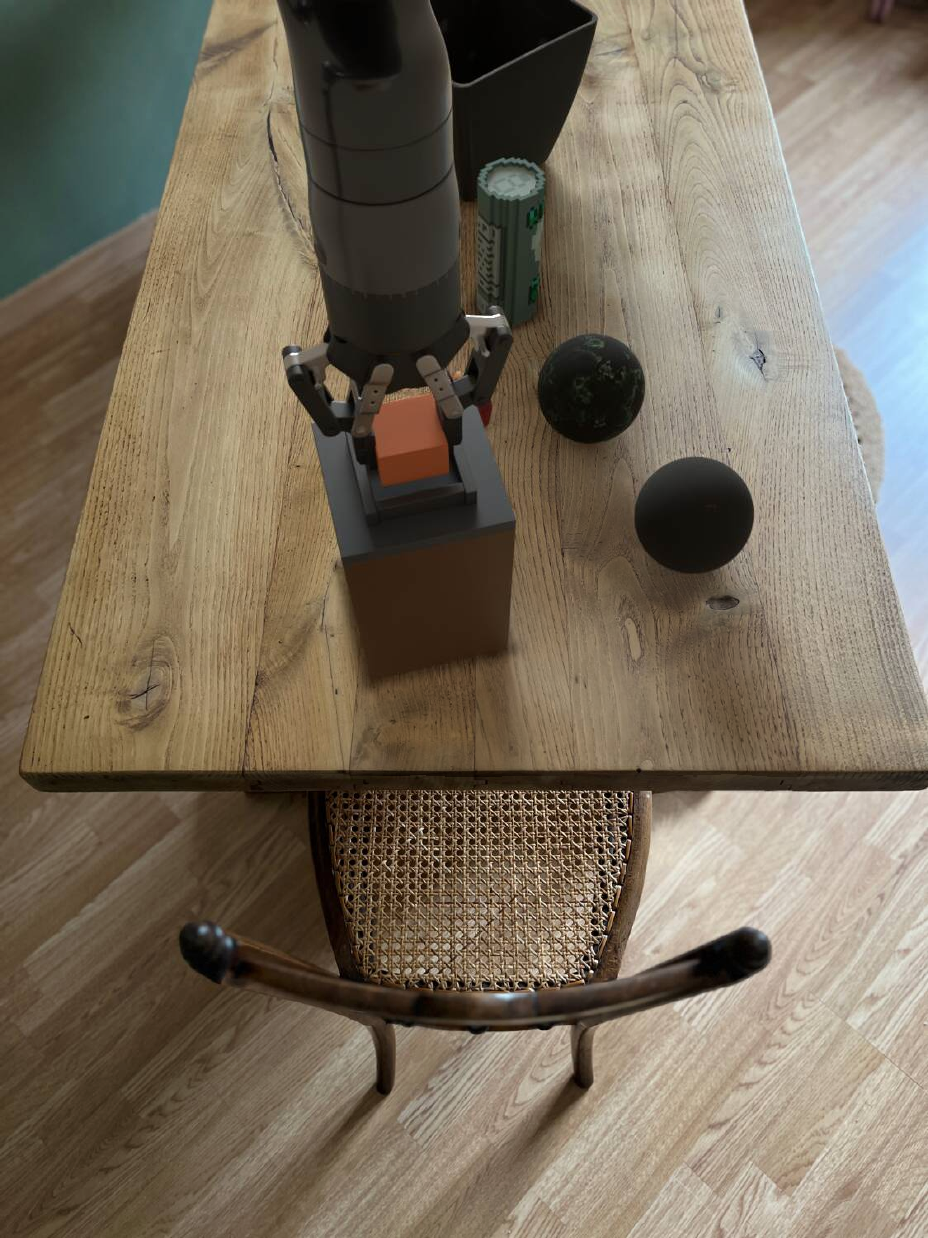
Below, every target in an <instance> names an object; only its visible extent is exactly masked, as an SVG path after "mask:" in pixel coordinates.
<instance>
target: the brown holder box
mask: <svg viewBox="0 0 928 1238" xmlns="http://www.w3.org/2000/svg"><path fill="white" fill-rule="evenodd" d="M434 401H435V398H434ZM310 426H311V431H312V435H313V439H314V444H315V449H316V454H317V458H318V462H319V466H320V471H321V474H322V479H323V484H324V488H325V493H326V498H327V501H328V507H329V511H330V515H331V520H332V524H333V528H334V533H335V537H336V542H337V547H338V552H339V556H340V559H341V564H342V569H343V572H344V577H345V581H346V585H347V590H348V593H349V598H350V602H351V607H352V611H353V615H354V621H355V624H356V627H357V632H358V637H359V642H360V645H361V648H362V653H363V658H364V662H365V666H366V671H367V674H368V680H369V681H370V682H373V681H376V680H381V679H387V678H389V677H395V676H399V675H402V674H408V673H412V672H415V671H416V672H417V671H420V670H424V669H430V668H433V667H437V666H443V665H446V664H451V663H454V662H460V661H463V660H469V659H472V658H476V657H480V656H484V655H489V654H493V653H494V654H495V653H498V652H502V651H507V650H508V649H509V634H510V622H511V620H510V619H511V605H512V591H513V577H514V575H513V574H514V561H515V547H516V546H515V545H516V534H517V533H516V530H517V518H516V516H515V512H514V509H513V506H512V503H511V501H510V498H509V495H508V492H507V489H506V486H505V483H504V481H503V478H502V474H501V471H500V469H499V466H498V462H497V459H496V457H495V453H494V451H493V448H492V445H491V442H490V440H489V437H488V434H487V431H486V428H484V425H483V422H482V419H481V416H480V413H479V410H478V407H476V406H474V404H473V405H471V406H469V407H467V408H466V409H465V410H464V413H463V415H462V434H463V439H462V441H461V443H460V445H456V446H454V453H453V454H448V455H449V473H448V474H444V475H439V476H434V477H430V478H425V479H420V480H415V481H410V482H406V483H401V484H396V485H391V486H387V487H383V486H382V483H381V480H380V476H379V472H378V469H376V470H371V471H369V468H368V464H364V465H360V464H359V463H358V462H357V460H356V456H355V452H354V448H353V443H352V437H351V434H350V433H348V432H343V431H341V432H340V434H338V435H337V436H334V437H326V436H324V435H323V434H322V432H321V431H320V429H319V428H318V426H317V425H316V423H315V422H314V421H313V422H311V423H310Z"/></svg>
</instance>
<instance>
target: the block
mask: <svg viewBox="0 0 928 1238" xmlns="http://www.w3.org/2000/svg"><path fill="white" fill-rule="evenodd" d="M372 426H373V430H374V434H375V440H376V445H375V451H376V457H377V464H378V472H379V476H380V480H381V483H382V486H383V487H387V486H391V485H396V484H401V483H406V482H410V481H415V480H420V479H425V478H430V477H434V476H439V475H444V474H448V473H449V455H448V443H447V440H446V436H445V433H444V432H443V429H442V426H441V423H440V420H439V417H438V413H437V410H436V407H435V401H434V398H433V395H432V393H425V394H421V395H416V396H412V397H406V398H402V399H397V400H391V401H387V402H382V406H381V409H380V412H379V414H378V415H375V417H374V421H373V424H372Z"/></svg>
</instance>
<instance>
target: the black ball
mask: <svg viewBox="0 0 928 1238" xmlns="http://www.w3.org/2000/svg"><path fill="white" fill-rule="evenodd" d="M752 496H753V495H752V494H751V491H750V489H749V487H748V485H747V484H746V482H745V481H744V479H743V478H742V476H741V475H739V473H738V472H736V470H734V469H733V468H732V467H730V466H729V465H728V464H726V463H724V462H722V461H719V460H717V459H713V458H711V457H705V456H687V457H681V458H677V459H674V460H671V461H669V462H668V463H665V464H664V465H662V466H660V467H659V468H658V469H657V470H655V471H654V472H653V473H652V474H651V475H650V476H649V477H648V478H647V480H646V481H645V482H644V483H643V485H642V487H641V489H640V490H639V492H638V494H637V496H636V497H637V498H636V500H635V504H634V510H633V523H634V529H635V533H636V536H637V539H638V541H639V543H640V546H641V547H642V548H643V550H644V552H645V553H646V554H647V555H648V556H649V557H650V558H651V559H652V560H653V561H654V562H655V563H657V564H658V565H660V566H661V567H663V568H665V569H668V570H669V571H672V572H676V573H678V574H679V573H680V574H685V575H700V574H706V573H710V572H714V571H716V570H718V569H720V568H722V567H724V566H726V565H727V564H729V563H730V562H731V561H733V560H734V559H735V558H736V557H737V556H738V555H739V554H740V553H741V552H742V550H743V549H744V548H745V546H746V544H747V542H748V541H749V539H750V536H751V534H752V531H753V528H754V522H755V506H754V500H753V497H752Z"/></svg>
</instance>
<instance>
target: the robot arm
mask: <svg viewBox="0 0 928 1238" xmlns="http://www.w3.org/2000/svg"><path fill="white" fill-rule="evenodd" d="M276 3H277V7H278V11H279V15H280V17H281V21H282V24H283V25H282V26H283V28H284V32H285V38H286V43H287V44H286V45H287V50H288V55H289V59H290V60H289V61H290V67H291V76H292V87H293V97H294V102H295V103H294V104H295V110H296V111H295V112H296V116H297V123H298V128H299V132H300V133H299V134H300V139H301V145H302V151H303V156H304V162H305V169H306V177H307V179H306V180H307V181H306V182H307V209H308V216H309V221H310V226H311V232H312V238H313V249H314V253H315V255H316V260H317V266H318V271H319V278H320V282H321V288H322V293H323V299H324V305H325V311H326V316H327V321H328V322H327V326H326V329H325V331H324V334H323V337H322V342H320V343H318V344H315V345H313V346H311V347H307V348H306V349H302V347H301V346H300V345H298V344H293V343H292V344H291V343H290V344H288V345H285V346H284V347H283V348H282V350H281V356H282V361H283V366H284V367H283V368H284V371H285V376H286V380H287V384H288V386H289V388H290V390H291V391H292V392H293V394H294V395H295V397H296V398H297V399H298V400H299V402H300V403H301V405H302V407H303V408H304V409H305V410H306V412H307V414H308V415H309V416H310V418H311V419H312V422H313V423H314V422H315V423H316V425H317V426H318V428H319V429H320V431H321V432H322V434H323V435H324V436H326V437H334V436H337V435H338V434H340V432H341V431H343V432H348V433H350V434H351V437H352V443H353V448H354V452H355V456H356V460H357V462H358V463H359V464H360V465H364V464H368V468H369V471H371V470H376V469H378V464H377V457H376V451H375V445H376V440H375V434H374V430H373V426H372V424H373V421H374V417H375V415H378V414H379V412H380V409H381V406H382V403H384V399H385V396H386V395H392V394H395V393H398V392H399V391H403V390H405V389H422V388H428V389H429V391H430V394H432V395H433V396H434V398H435V407H436V410H437V413H438V417H439V420H440V423H441V426H442V429H443V432H444V433H445V436H446V440H447V443H448V454H453V453H454V446H456V445H460V443H461V441H462V439H463V434H462V415H463V413H464V410H465V409H466V408H467V407H469V406H471V405H473V404H474V406H476V407H483V406H486V405H487V404H489V402H490V401H492V399H493V396H494V393H495V391H496V388H497V385H498V383H499V380H500V377H501V375H502V373H503V370H504V368H505V365H506V362H507V360H508V357H509V355H510V352H511V349H512V347H513V344H514V343H515V342H514V341H515V338H514V336H513V333H512V330H511V327H510V325H508V322H507V320H506V317H505V315H504V312H503V310H502V308H501V307H499V306H492V307H490V308H488V309H487V310H486V311H485V313H484V315H483V316H482V315H474V314H473V315H469V314H466V311H465V309H464V308H463V306H462V261H461V260H462V259H461V258H462V255H461V254H462V253H461V241H462V236H463V219H462V216H461V207H460V204H461V203H460V197H459V190H458V183H457V178H456V173H455V166H454V154H453V110H452V99H453V97H452V80H451V70H450V64H449V58H448V53H447V48H446V45H445V41H444V38H443V36H442V33H441V31H440V28H439V26H438V23H437V21H436V18H435V16H434V13H433V10H432V7H431V4H430V0H276ZM469 339H470V342H471V344H472V348H471V351H470V353H469V355H468V356H469V357H468V359H467V361H466V364H465V368H464V371H463V373H462V374H463V375H464V376H463V377H461V378H459V379H457V380H455V381H454V380H453V378H452V376H453V375H452V374H451V373H450V370H449V369H448V366H449V364H450V363H451V362H452V361H453V359H454V358H455V357H456V356H457V354H458V353H459V352H460V350H461V349H462V348H463V347H464V346H465V345H466V343H467V342H468V340H469ZM330 365H331V366H332V367H333V368H335V369H336V370H338V372H341V374H344V375H345V376H346V377H348V381H349V384H348V388H347V392H346V396H345V400H343V401H342V400H335V398H334V396H333V395H332V394H331V392H330V391H329V389H328V387H327V386H326V384H325V381H326V380H327V374H326V370H327V368H328V367H329V366H330Z"/></svg>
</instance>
